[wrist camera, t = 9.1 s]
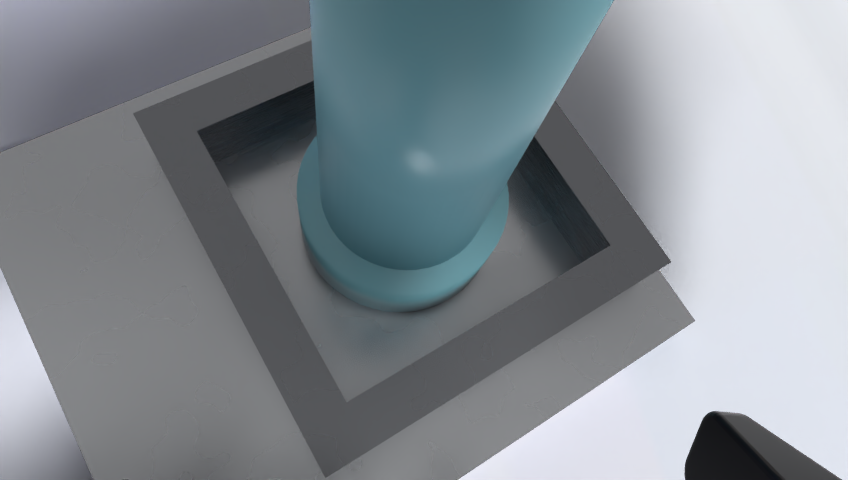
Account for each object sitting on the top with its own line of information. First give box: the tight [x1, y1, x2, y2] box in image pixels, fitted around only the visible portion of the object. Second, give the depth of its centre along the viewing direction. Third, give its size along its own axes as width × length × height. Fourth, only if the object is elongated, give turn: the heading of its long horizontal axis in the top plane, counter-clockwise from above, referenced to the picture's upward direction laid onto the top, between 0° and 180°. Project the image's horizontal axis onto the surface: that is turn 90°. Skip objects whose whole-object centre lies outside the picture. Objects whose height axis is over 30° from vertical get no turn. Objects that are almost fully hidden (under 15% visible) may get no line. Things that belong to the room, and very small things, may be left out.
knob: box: [297, 0, 614, 312], centre depth 12 cm, size 6×6×13 cm
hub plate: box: [0, 27, 695, 480], centre depth 18 cm, size 16×14×3 cm
